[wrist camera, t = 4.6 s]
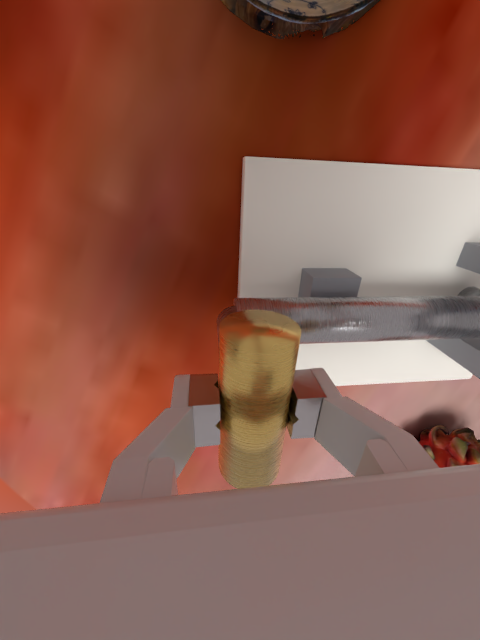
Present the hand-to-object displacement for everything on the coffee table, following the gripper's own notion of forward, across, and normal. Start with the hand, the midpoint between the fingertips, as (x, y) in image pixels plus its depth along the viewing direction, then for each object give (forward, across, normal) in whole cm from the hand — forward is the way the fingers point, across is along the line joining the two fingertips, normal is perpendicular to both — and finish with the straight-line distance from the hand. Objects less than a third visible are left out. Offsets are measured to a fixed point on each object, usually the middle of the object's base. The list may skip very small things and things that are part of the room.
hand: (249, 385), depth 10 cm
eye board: (+10, -11, 0) cm, 15 cm away
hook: (+8, -8, 0) cm, 12 cm away
